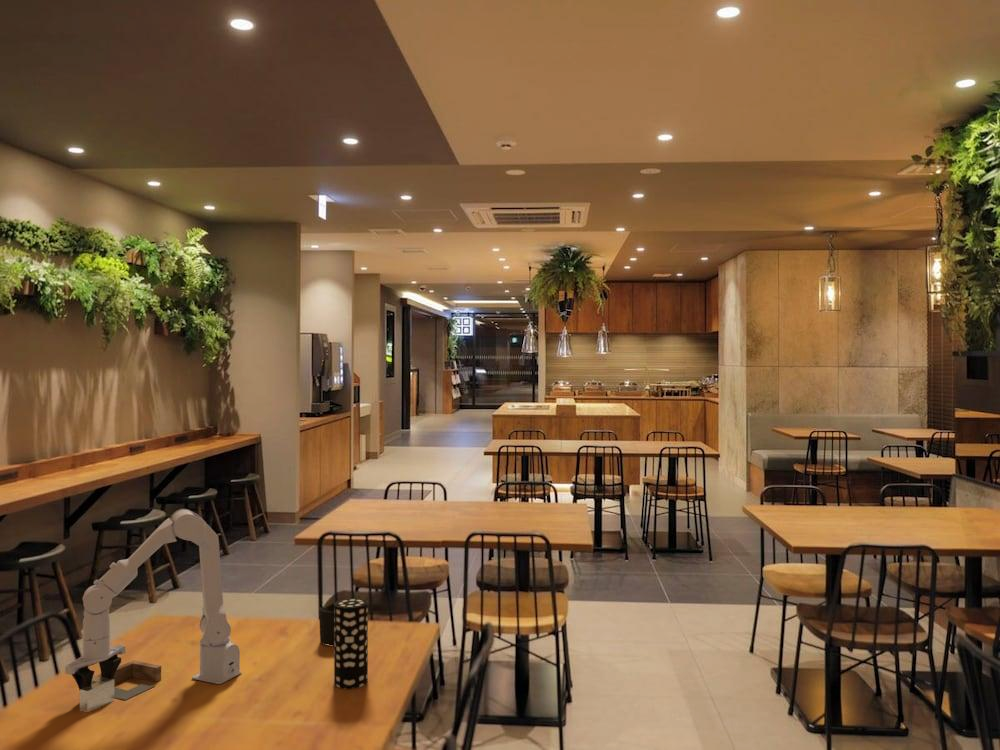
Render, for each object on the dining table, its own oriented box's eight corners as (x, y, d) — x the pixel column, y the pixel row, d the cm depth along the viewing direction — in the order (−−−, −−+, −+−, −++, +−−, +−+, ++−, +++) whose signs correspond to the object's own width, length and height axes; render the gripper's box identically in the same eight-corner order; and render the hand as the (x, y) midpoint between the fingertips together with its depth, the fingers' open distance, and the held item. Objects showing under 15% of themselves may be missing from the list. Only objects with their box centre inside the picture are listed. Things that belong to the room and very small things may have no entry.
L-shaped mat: (154, 686, 178) (154, 685, 178) (125, 700, 170) (125, 699, 170) (130, 681, 181) (130, 680, 181) (100, 694, 173) (100, 693, 173)
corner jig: (161, 679, 182) (161, 665, 182) (125, 696, 172) (125, 681, 172) (133, 673, 186) (133, 660, 186) (97, 689, 176) (97, 675, 176)
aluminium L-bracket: (114, 700, 170) (114, 679, 170) (87, 712, 164) (87, 691, 164) (93, 695, 173) (93, 675, 173) (66, 707, 166) (66, 686, 166)
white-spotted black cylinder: (353, 672, 186) (353, 596, 187) (374, 681, 181) (374, 602, 181) (327, 683, 180) (327, 603, 180) (348, 692, 175) (348, 610, 175)
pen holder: (352, 645, 206) (352, 610, 206) (318, 648, 204) (318, 613, 204) (351, 634, 215) (351, 601, 215) (319, 637, 213) (319, 603, 213)
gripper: (111, 625, 179) (110, 679, 179) (56, 644, 166) (55, 703, 165) (131, 628, 176) (131, 683, 176) (77, 648, 163) (77, 708, 163)
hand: (96, 693), depth 171 cm, fingers open, 5 cm apart
